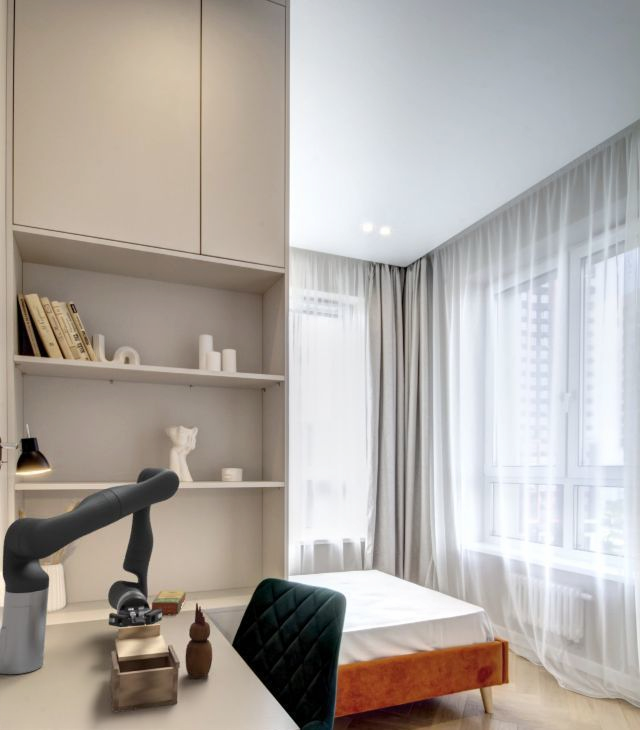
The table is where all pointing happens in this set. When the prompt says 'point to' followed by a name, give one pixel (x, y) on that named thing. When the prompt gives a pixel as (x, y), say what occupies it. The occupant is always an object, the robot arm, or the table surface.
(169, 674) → the light wooden box
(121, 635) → the lid
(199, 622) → the wooden figurine
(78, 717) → the table surface
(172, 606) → the carton
